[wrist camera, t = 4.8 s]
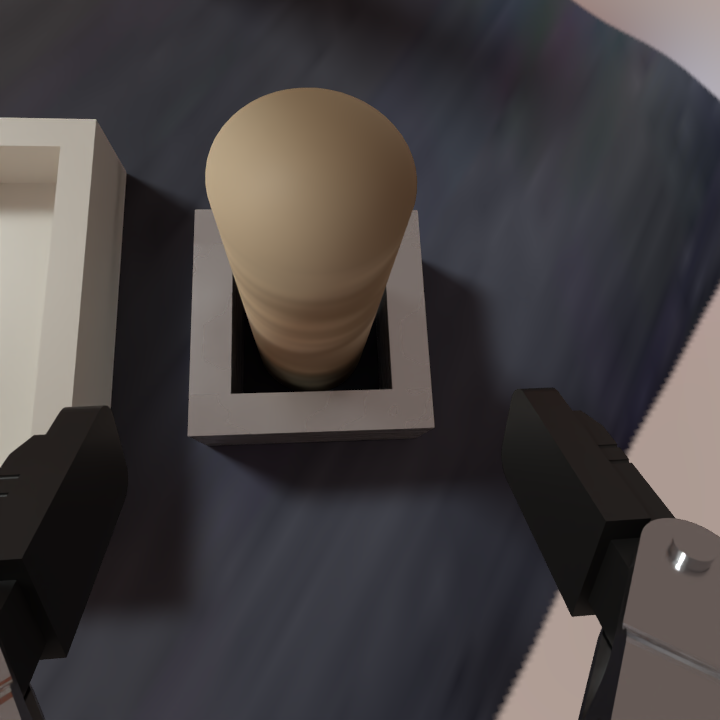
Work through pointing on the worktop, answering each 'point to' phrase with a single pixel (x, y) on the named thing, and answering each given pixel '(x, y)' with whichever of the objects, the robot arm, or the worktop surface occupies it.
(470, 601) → the worktop surface
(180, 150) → the worktop surface
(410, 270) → the collar
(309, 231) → the peg
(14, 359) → the tray
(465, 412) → the worktop surface
